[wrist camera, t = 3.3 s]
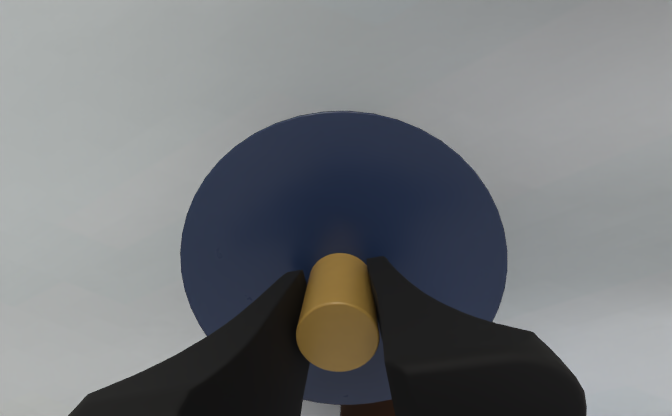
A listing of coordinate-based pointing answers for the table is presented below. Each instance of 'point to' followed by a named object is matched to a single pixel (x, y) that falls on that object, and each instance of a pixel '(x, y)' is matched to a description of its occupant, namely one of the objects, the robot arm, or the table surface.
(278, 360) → the robot arm
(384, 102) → the table surface
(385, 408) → the walnut block
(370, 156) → the tin lid
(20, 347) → the table surface
